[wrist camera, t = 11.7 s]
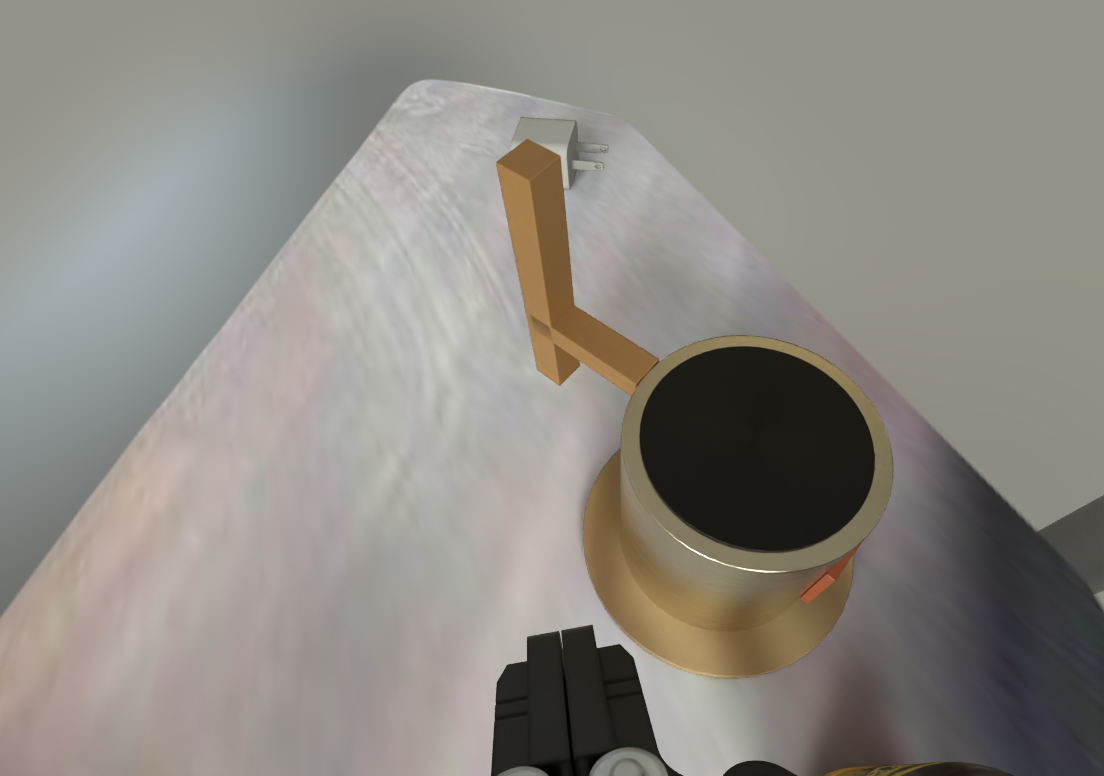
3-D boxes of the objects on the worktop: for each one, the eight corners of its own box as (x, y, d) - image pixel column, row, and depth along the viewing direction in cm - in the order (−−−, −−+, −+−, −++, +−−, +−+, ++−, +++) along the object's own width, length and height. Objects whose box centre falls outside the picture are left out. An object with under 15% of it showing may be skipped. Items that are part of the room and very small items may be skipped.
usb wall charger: (528, 156, 51) (522, 113, 48) (610, 162, 50) (610, 118, 47) (516, 188, 49) (509, 146, 46) (601, 195, 48) (600, 152, 45)
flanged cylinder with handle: (852, 524, 32) (1088, 285, 16) (746, 681, 29) (909, 577, 13) (608, 361, 39) (603, 78, 23) (499, 473, 36) (402, 234, 20)
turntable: (791, 405, 37) (795, 398, 36) (895, 650, 30) (902, 647, 29) (564, 446, 37) (563, 440, 36) (612, 702, 30) (612, 701, 29)
